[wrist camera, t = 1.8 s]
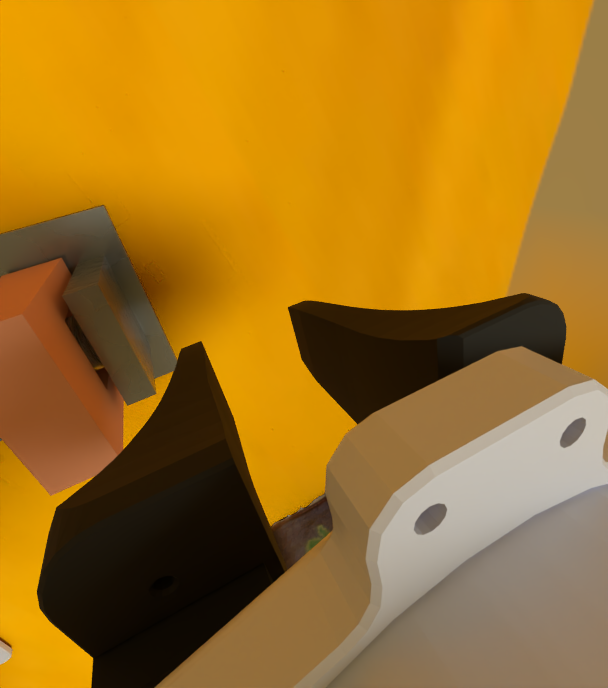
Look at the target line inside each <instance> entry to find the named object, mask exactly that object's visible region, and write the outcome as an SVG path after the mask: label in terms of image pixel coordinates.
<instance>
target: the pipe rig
mask: <svg viewBox="0 0 608 688" xmlns="http://www.w3.org/2000/svg"><path fill="white" fill-rule="evenodd" d="M58 258H62V259H63V261H64V263H65V264H66V266H67V268H68V270H69V271H70V273H71V275H72V276H71V278H70V280H69V283H68V285H67V287H66V289H65V291H64V293H63V295H62V297H63V299H64V300H65V302H66V304H67V305H68V307H69V309H70V310H71V312H72V314H73V316H70V317H67V318H65V323H66V324H67V326H68V327H69V329H70V331H71V332H72V334H73V336H74V337H75V339H76V340H77V342H78V344H79V345H80V347H81V348H82V350H83V352H84V353H85V355H86V357H87V358H88V360H89V361H90V363H91V365H92V366H93V368H94V370H98V369H101V368H103V367H105V369H106V371H107V372H108V374H109V376H110V377H111V379H112V381H113V382H114V384H115V386H116V387H117V389H118V391H119V392H120V394H121V396H122V397H123V399H124V401H125V402H126V404H127V406H128V405H130V404H133V403H135V402H138V401H140V400H142V399H145V398H147V397H150V396H152V395H155V394H156V387H155V380H154V379H155V378H157V377H160V376H162V375H165V374H167V373H170V372H172V371H174V370H175V367H176V364H177V361H178V360H177V358H176V356H175V354H174V352H173V350H172V348H171V346H170V344H169V341H168V339H167V337H166V335H165V333H164V331H163V329H162V327H161V325H160V322H159V320H158V318H157V316H156V314H155V312H154V310H153V308H152V305H151V303H150V301H149V299H148V297H147V295H146V293H145V291H144V289H143V286H142V284H141V282H140V280H139V278H138V276H137V274H136V272H135V269H134V267H133V265H132V263H131V261H130V259H129V257H128V255H127V253H126V250H125V248H124V246H123V244H122V242H121V240H120V238H119V236H118V233H117V231H116V229H115V227H114V225H113V223H112V221H111V219H110V217H109V214H108V212H107V210H106V208H105V206H104V205H102V206H99V207H95V208H91V209H88V210H84V211H81V212H77V213H73V214H70V215H66V216H63V217H59V218H56V219H52V220H48V221H45V222H41V223H38V224H34V225H31V226H27V227H23V228H20V229H16V230H13V231H9V232H6V233H2V234H0V277H1V276H3V275H6V274H9V273H13V272H16V271H19V270H22V269H26V268H29V267H32V266H36V265H39V264H42V263H45V262H49V261H52V260H55V259H58ZM1 440H2V439H1V438H0V441H1Z"/></svg>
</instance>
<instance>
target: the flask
mask: <svg viewBox="0 0 608 688" xmlns="http://www.w3.org/2000/svg"><path fill="white" fill-rule="evenodd" d="M271 530H272V532H273V535H274V537H275V540H276V542H277V544H278V547H279V549H280V552H281V554H282V557H283V559H284V562H285V564H286V566H287V569H289V568H291V567H292V566H293V565H294V564H295V563H296V562H297V561H298V560H300V559H301V558H302V557H303V556H304V555H305V554H306V553H308V552H309V551H310V550H311V549H312V548H313V547H314V546H315V545H317V544H318V543H319V542H320V541H321V540H322V539H323V538H325V537H326V536H327V535H328V534H329V533H330V532H331V531H332V530H333V521H332V515H331V512H330V508H329V505H328V501H327V498H326V495H325V494H324V495H322V496H319V497H318V498H317V499H315V500H314V501H313V502H312V503H311V504H310V505H309V507H307V508H301V509H300V510H299V511H298V512H297V513H295V514H294V515H290V516H289V515H288V517H286V518H285V519H283V520H281V521H279V522H276V523H274V524H273V526H272V527H271Z"/></svg>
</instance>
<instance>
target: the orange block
mask: <svg viewBox="0 0 608 688" xmlns="http://www.w3.org/2000/svg"><path fill="white" fill-rule="evenodd" d="M71 276H72V275H71V273H70V271H69V270H68V268H67V266H66V264H65V263H64V261H63V259H62V258H58V259H55V260H52V261H49V262H45V263H42V264H39V265H36V266H32V267H29V268H26V269H22V270H19V271H16V272H13V273H9V274H6V275H3V276H1V277H0V438H1V439H2V440H3V441H4V442H5V443H6V445H7V446H8V447H9V448H10V449H11V450H12V451H13V453H14V454H15V455H16V456H17V457H18V458H19V460H20V461H21V462H22V463H23V464H24V465H25V466H26V468H27V469H28V470H29V471H30V472H31V473H32V474H33V476H34V477H35V478H36V479H37V480H38V481H39V482H40V484H41V485H42V486H43V487H44V488H45V489H46V490H47V492H48V493H49V494H50V495H53V494H55V493H58V492H60V491H62V490H64V489H67V488H69V487H71V486H73V485H75V484H78V483H80V482H82V481H84V480H87V479H89V478H91V477H93V476H95V475H97V474H99V473H100V472H101V471H102V470H103V469H104V468H105V467H106V466H107V465H108V464H109V463H110V462H112V461H113V460H114V459H115V458H116V457H117V456H118V455H119V454H120V453H121V452H122V451H123V397H122V396H121V394H120V392H119V391H118V389H117V387H116V386H115V384H114V382H113V381H112V379H111V377H110V376H109V374H108V372H107V371H106V369H105V367H103V368H101V369H98V370H94V368H93V366H92V365H91V363H90V361H89V360H88V358H87V357H86V355H85V353H84V352H83V350H82V348H81V347H80V345H79V344H78V342H77V340H76V339H75V337H74V336H73V334H72V332H71V331H70V329H69V327H68V326H67V324H66V323H65V318H67V317H70V316H73V314H72V312H71V310H70V309H69V307H68V305H67V304H66V302H65V300H64V299H63V297H62V295H63V293H64V291H65V289H66V287H67V285H68V283H69V280H70V278H71Z"/></svg>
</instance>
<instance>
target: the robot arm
mask: <svg viewBox="0 0 608 688" xmlns="http://www.w3.org/2000/svg"><path fill="white" fill-rule="evenodd" d="M288 310H289V313H290V317H291V321H292V325H293V328H294V332H295V336H296V339H297V343H298V347H299V351H300V354H301V358H302V361H303V362H304V364H305V365H306V367H307V368H308V370H309V371H310V372H311V374H312V375H313V377H314V378H315V379H316V381H317V382H318V383H319V384H320V385H321V386H322V387H323V388H324V389H325V390H326V391H327V393H328V394H329V395H330V396H331V397H332V398H333V399H334V400H335V401H336V402H337V403H338V404H339V405H340V406H341V407H342V408H343V409H344V410H345V411H346V412H347V413H348V415H349V416H350V417H351V418H352V419H353V420H354V421H355V422H356V423H357V424H358V425H357V426H355V427H354V428H353V429H351V430H350V431H349V432H347V433H346V434H345V436H344V438H343V439H342V441H341V443H340V444H339V446H338V447H337V449H336V451H335V452H334V454H333V456H332V457H331V459H330V461H329V462H328V464H327V470H326V486H325V495H326V498H327V501H328V505H329V508H330V512H331V515H332V521H333V530H332V531H331V532H330V533H329V534H328V535H327V536H326V537H325V538H323V539H322V540H321V541H320V542H319V543H318V544H317V545H315V546H314V547H313V548H312V549H311V550H310V551H309V552H308V553H306V554H305V555H304V556H303V557H302V558H301V559H300V560H298V561H297V562H296V563H295V564H294V565H293V566H292V567H291V568H289V569H287V566H286V564H285V562H284V559H283V557H282V554H281V552H280V549H279V547H278V544H277V542H276V540H275V537H274V535H273V532H272V530H271V527H270V525H269V522H268V520H267V517H266V515H265V513H264V510H263V508H262V505H261V503H260V500H259V498H258V495H257V493H256V490H255V488H254V485H253V482H252V479H251V476H250V474H249V470H248V467H247V463H246V460H245V456H244V453H243V449H242V446H241V442H240V438H239V435H238V431H237V428H236V425H235V421H234V418H233V415H232V413H231V410H230V408H229V406H228V403H227V401H226V399H225V396H224V394H223V391H222V389H221V387H220V384H219V382H218V379H217V377H216V375H215V372H214V370H213V368H212V365H211V363H210V360H209V358H208V356H207V353H206V351H205V349H204V346H203V344H202V342H201V341H200V342H198V343H195V344H193V345H190V346H188V347H185V348H182V349H181V351H180V353H179V357H178V361H177V364H176V367H175V370H174V372H173V375H172V378H171V380H170V383H169V385H168V387H167V389H166V391H165V393H164V395H163V397H162V399H161V401H160V403H159V405H158V406H157V408H156V410H155V411H154V412H153V414H152V415H151V417H150V418H149V420H148V421H147V423H146V424H145V425H144V426H143V428H142V429H141V430H140V431H139V432H138V433H137V435H136V436H135V437H134V438H133V439H132V441H131V442H130V443H129V444H128V445H127V446H126V447H125V449H124V450H123V451H122V452H121V453H120V454H119V455H118V456H117V457H116V458H115V459H114V460H113V461H112V462H110V463H109V464H108V465H107V466H106V467H105V468H104V469H103V470H102V471H101V472H100V473H99V474H97V475H96V476H95V477H94V478H93V479H92V480H90V481H89V482H88V483H87V484H85V485H84V486H83V487H82V488H80V489H79V490H78V491H77V492H75V493H74V494H73V495H72V496H71V497H69V498H68V499H67V500H66V501H64V502H63V503H62V504H60V505H59V506H58V507H56V511H55V514H54V517H53V521H52V524H51V527H50V531H49V535H48V540H47V544H46V549H45V554H44V559H43V564H42V569H41V574H40V579H39V584H38V589H37V596H38V601H39V607H40V609H41V611H42V612H43V613H44V615H45V616H46V617H47V618H48V620H49V621H50V622H51V623H52V624H53V625H54V626H56V627H57V628H58V629H59V630H60V631H62V632H63V633H64V634H65V635H66V636H68V637H69V638H70V639H71V640H72V641H74V642H75V643H76V644H77V645H78V646H80V647H81V648H82V649H83V650H84V651H85V652H87V653H88V654H89V655H90V656H91V657H93V672H92V687H91V688H608V389H607V388H605V387H604V386H603V385H601V384H600V383H598V382H597V381H596V380H594V379H592V378H590V377H588V376H585V375H584V374H581V373H579V372H577V371H575V370H572V369H570V368H568V367H566V366H563V365H562V359H563V352H564V346H565V340H566V323H565V319H564V315H563V312H562V311H561V309H560V308H559V306H558V305H557V304H555V303H552V302H551V301H549V300H546V299H543V298H539V297H536V296H533V295H530V294H526V293H522V294H517V295H513V296H508V297H504V298H500V299H495V300H491V301H486V302H482V303H476V304H470V305H463V306H457V307H449V308H440V309H427V310H376V309H365V308H357V307H349V306H343V305H336V304H330V303H324V302H318V301H303V302H300V303H298V304H295V305H292V306H290V307H288ZM11 655H12V649H11V648H10V647H9V646H7V645H6V644H5V643H3V642H2V641H0V664H2V663H4V662H6V661H7V660H9V659H10V658H11Z"/></svg>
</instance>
